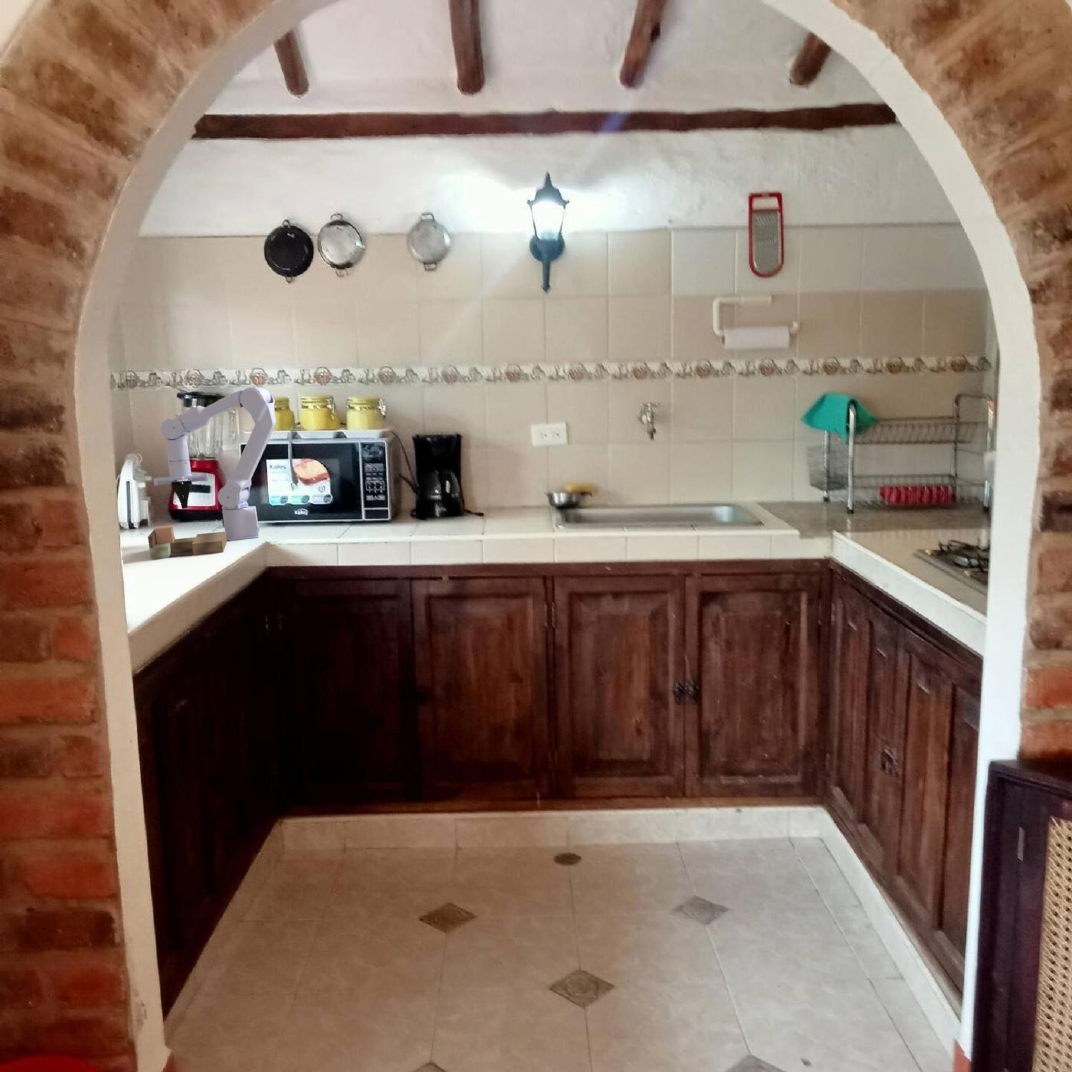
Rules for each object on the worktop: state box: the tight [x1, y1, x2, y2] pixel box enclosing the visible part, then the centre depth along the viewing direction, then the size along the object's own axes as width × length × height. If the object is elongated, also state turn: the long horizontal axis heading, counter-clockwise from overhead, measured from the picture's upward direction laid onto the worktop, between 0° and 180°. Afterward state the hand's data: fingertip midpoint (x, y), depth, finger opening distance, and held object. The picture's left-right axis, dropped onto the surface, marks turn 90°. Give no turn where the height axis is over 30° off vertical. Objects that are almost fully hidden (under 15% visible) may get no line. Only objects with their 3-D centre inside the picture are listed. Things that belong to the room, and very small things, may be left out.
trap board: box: [147, 528, 228, 560], centre depth 254 cm, size 18×16×6 cm
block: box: [154, 524, 175, 544], centre depth 252 cm, size 4×4×4 cm
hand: (184, 508), depth 270 cm, fingers closed
